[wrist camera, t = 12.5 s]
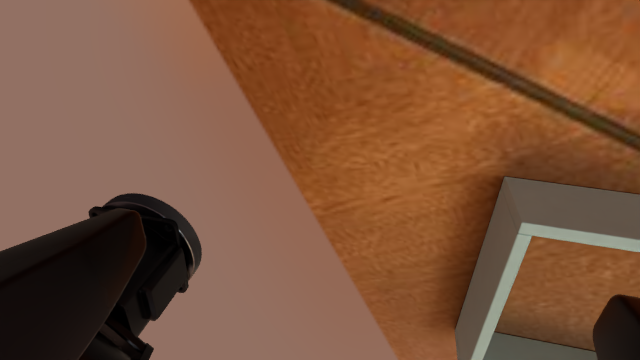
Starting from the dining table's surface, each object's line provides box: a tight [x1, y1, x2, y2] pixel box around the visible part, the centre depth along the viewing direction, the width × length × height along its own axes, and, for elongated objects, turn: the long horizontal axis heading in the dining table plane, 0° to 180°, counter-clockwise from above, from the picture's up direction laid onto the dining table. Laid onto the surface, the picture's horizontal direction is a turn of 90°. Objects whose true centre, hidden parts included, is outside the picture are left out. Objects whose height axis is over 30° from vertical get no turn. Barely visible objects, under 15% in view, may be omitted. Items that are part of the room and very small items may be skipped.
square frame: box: [455, 177, 640, 360], centre depth 20 cm, size 12×12×4 cm
